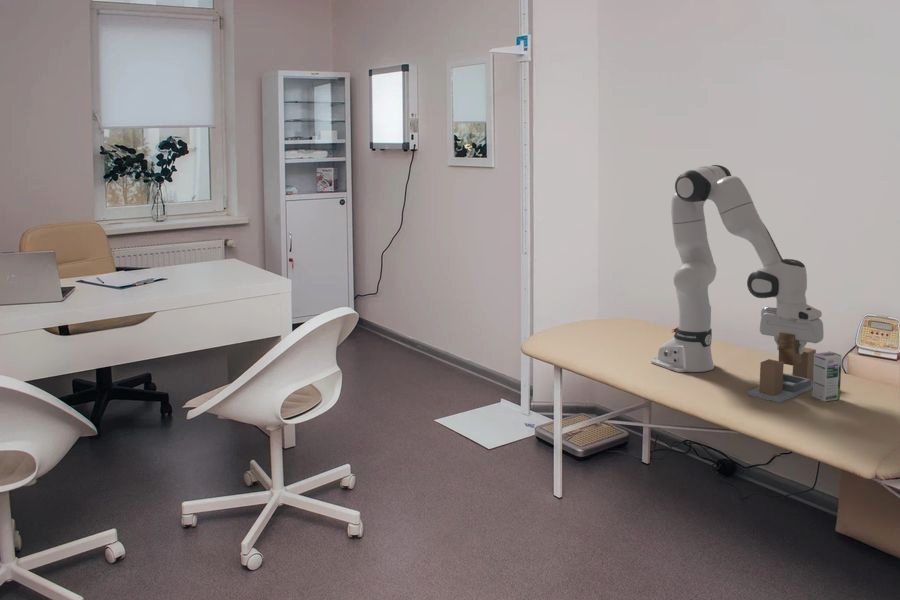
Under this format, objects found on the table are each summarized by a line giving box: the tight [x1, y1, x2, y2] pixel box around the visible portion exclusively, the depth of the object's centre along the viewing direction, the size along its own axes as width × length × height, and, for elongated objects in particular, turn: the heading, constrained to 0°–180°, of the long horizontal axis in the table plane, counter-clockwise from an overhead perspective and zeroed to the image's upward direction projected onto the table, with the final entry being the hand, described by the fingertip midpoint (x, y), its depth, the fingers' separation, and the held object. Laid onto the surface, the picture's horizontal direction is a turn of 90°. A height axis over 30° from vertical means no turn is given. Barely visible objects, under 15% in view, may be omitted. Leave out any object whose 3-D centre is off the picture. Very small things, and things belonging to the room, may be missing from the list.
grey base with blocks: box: [747, 346, 817, 404], centre depth 270 cm, size 11×28×11 cm, turn 129°
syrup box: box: [812, 351, 843, 403], centre depth 259 cm, size 6×6×14 cm
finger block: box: [778, 333, 801, 367], centre depth 268 cm, size 5×5×10 cm
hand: (790, 351), depth 268 cm, fingers closed on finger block, 5 cm apart
